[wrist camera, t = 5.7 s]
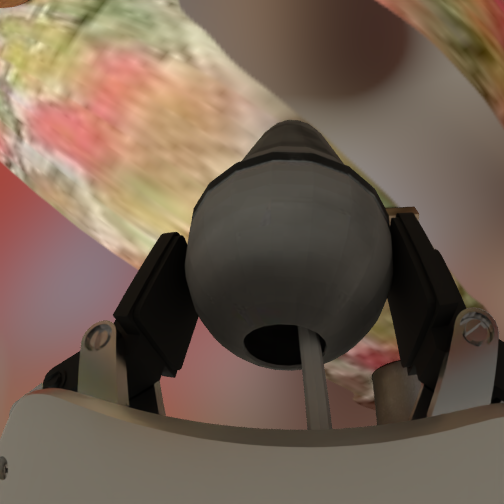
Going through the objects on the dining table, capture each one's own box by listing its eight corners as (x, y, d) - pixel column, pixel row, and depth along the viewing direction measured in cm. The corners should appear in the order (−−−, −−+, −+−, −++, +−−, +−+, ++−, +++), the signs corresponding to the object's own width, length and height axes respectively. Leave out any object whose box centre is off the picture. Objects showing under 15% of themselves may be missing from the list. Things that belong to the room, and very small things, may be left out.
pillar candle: (362, 381, 50) (367, 448, 38) (389, 357, 44) (400, 433, 32) (398, 382, 51) (406, 444, 39) (426, 360, 44) (440, 428, 33)
